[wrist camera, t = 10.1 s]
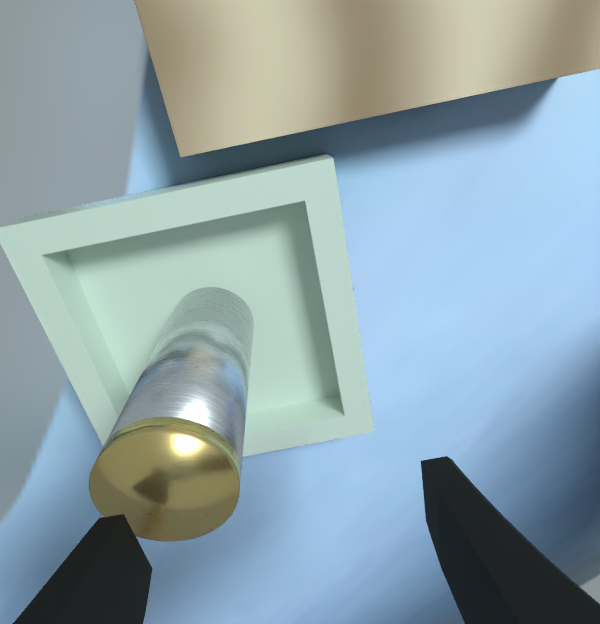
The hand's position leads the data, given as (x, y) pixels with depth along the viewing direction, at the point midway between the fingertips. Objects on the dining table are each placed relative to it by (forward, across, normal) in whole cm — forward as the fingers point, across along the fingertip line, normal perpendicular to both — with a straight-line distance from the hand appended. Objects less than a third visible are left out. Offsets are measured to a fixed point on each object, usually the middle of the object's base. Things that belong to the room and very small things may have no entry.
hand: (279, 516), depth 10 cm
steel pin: (+9, +3, -1) cm, 10 cm away
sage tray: (+10, +3, -1) cm, 10 cm away
